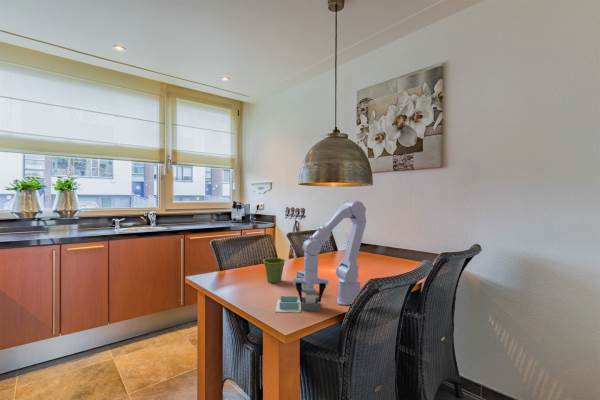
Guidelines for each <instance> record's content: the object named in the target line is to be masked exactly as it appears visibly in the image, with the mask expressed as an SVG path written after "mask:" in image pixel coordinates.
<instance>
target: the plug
mask: <svg viewBox="0 0 600 400" xmlns="http://www.w3.org/2000/svg"><path fill="white" fill-rule="evenodd" d="M305 297H306V302H305V303H312V304H315V302H316V288H314V287H313V288H306V292H305Z"/></svg>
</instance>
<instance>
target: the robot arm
mask: <svg viewBox="0 0 600 400" xmlns="http://www.w3.org/2000/svg"><path fill="white" fill-rule="evenodd" d="M366 211H367V208H366V206H365V204H364V203H363V202H362V201H360V200H359V201H358V200H356V201H354V200H353V201H352V200H345V201H343V202H342V204H341V205H340V206H339V207H338V208H337V210H336V212H335V213H334V214H333V216H332V217H331V218H330V219H329V220H328V222H327V223H326V224H325V225H321V226H320V227H319V226H318V227H316V231H315V232H314V233H313V234H312V235H310V236H309V238H308V239H306V240H305V241H304V242H303V244H302V246H301V249H302V251H303V252H304V254H303V255H304V256H303V271H304V278H293V280H292V284H293V285H295V289H296V291H297V292H298V293H297V294H298V296H299V300H300V302H301V303H302V297H303V294H302V292H303V291H302V284H314V285H318V297H319V303H321V302H322V301H321V300H322V298H323V297H322V296H323V294H324V292H325V291H326V288H327V286H328V285H329V279H328V278H321V277H319V276H318V275H319V274H318V273H319V272H318V271H319V270H318V268H319V266H318V265H319V253H320V252H321V249H322V246H323V245H324V244H325V243H326V242H327V241H328V239H330V237H331V236H332V231H333V230H334V229H335V228H336V227H337V226H338V225H339V224H340V223H341V222H342V221H343V220H344V219H347V218H349V219H350V220H349V221H351V223H352V225H351V230H350V233H349V237H348V242H347V244H346V245H347V246H346V249H345V253H344V255H343V256H344V257H343V258H342V259H340V262H339V264H338V266H336V268H335V269H336V270H335V274H336V276H337V277H338V282H337V283H338V290H337V292H338V293H337V297H335V298H336V302H337V304H338V305H341V306H342V305H345V306H346V305H347V306H348V305H349V306H350V304H351V303H352V301H353V300H354V298H355V297H356V296H357V295H358V293H359V292H360V290H361V291H362V289H361V283H360V281H357V280H358V279H359V264H358V262H357V260H358V255H359V252H360V250H361V249H360V248H361V245H362V241H363V237H364V233H365V229H366V225H367V218H366ZM318 277H319V278H318Z"/></svg>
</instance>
